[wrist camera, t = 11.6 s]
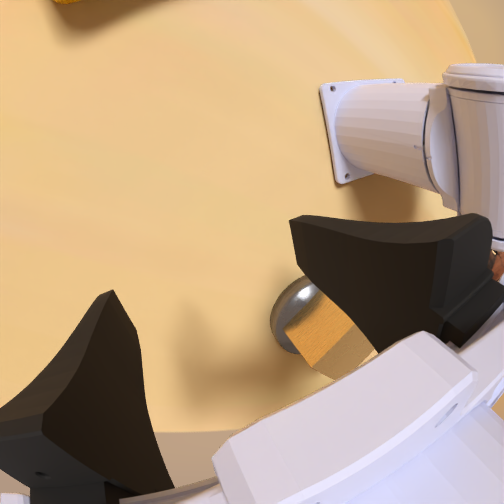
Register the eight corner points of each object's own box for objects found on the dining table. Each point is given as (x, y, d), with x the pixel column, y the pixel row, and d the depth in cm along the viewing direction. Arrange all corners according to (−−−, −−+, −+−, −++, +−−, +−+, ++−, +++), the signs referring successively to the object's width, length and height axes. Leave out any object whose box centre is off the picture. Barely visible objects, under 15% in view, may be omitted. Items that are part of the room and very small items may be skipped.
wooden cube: (323, 285, 24) (359, 318, 20) (348, 310, 27) (381, 341, 22) (282, 328, 24) (311, 367, 20) (312, 348, 27) (340, 383, 23)
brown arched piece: (488, 228, 38) (513, 268, 33) (450, 261, 43) (473, 301, 38) (485, 210, 30) (518, 260, 25) (437, 252, 35) (467, 303, 30)
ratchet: (432, 213, 29) (464, 228, 25) (427, 271, 33) (455, 288, 28) (261, 294, 24) (287, 328, 20) (278, 355, 28) (300, 389, 24)
